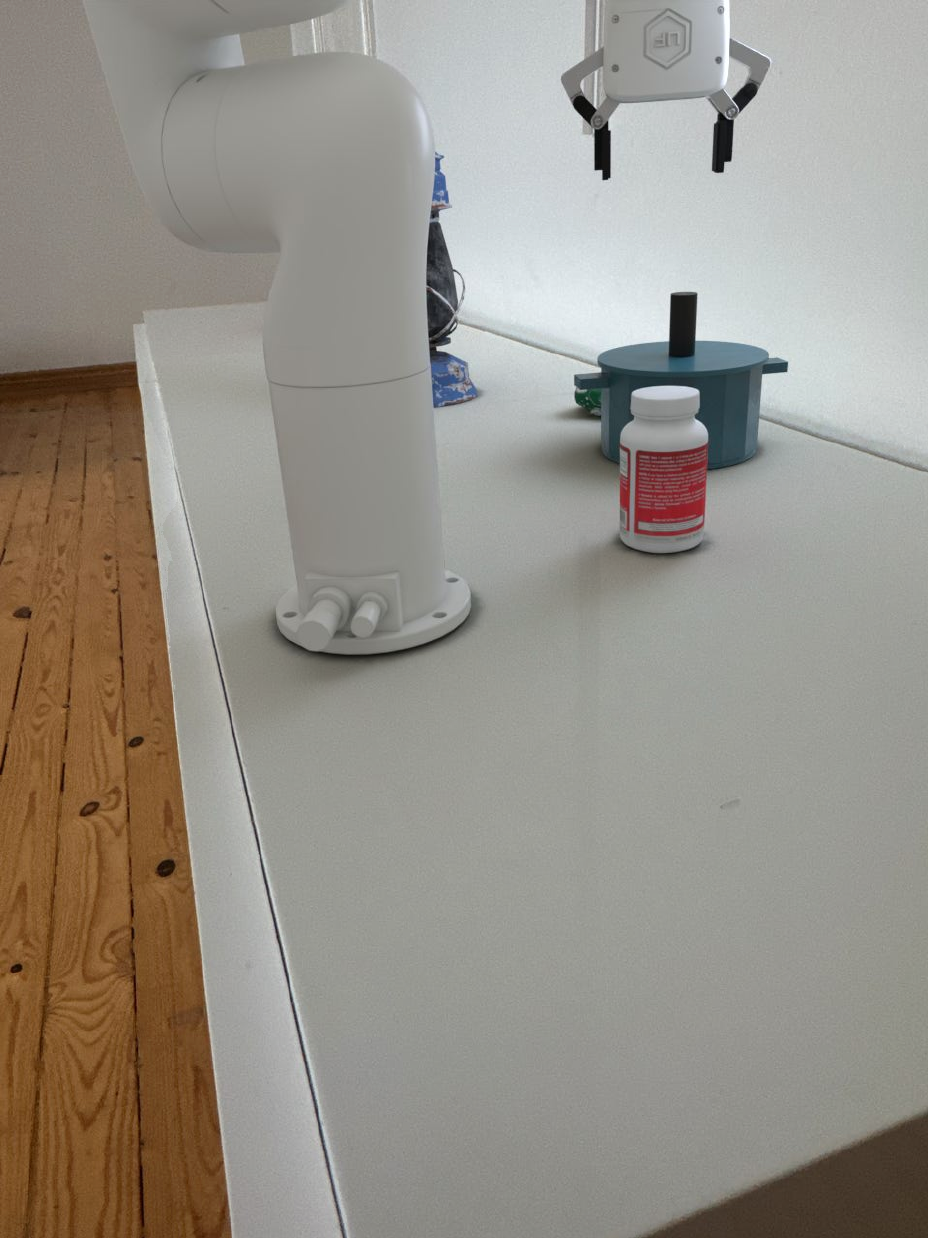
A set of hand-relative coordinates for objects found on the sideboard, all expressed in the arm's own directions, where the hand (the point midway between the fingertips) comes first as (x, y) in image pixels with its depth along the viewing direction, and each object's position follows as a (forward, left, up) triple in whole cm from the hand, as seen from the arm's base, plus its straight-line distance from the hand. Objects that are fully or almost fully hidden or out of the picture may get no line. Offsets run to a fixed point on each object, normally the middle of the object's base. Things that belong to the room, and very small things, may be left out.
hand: (661, 175), depth 85 cm
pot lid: (-1, -2, -16) cm, 16 cm away
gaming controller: (+14, +4, -25) cm, 29 cm away
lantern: (+26, +27, -25) cm, 45 cm away
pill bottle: (-26, +1, -25) cm, 36 cm away
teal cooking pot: (-1, -2, -24) cm, 24 cm away
